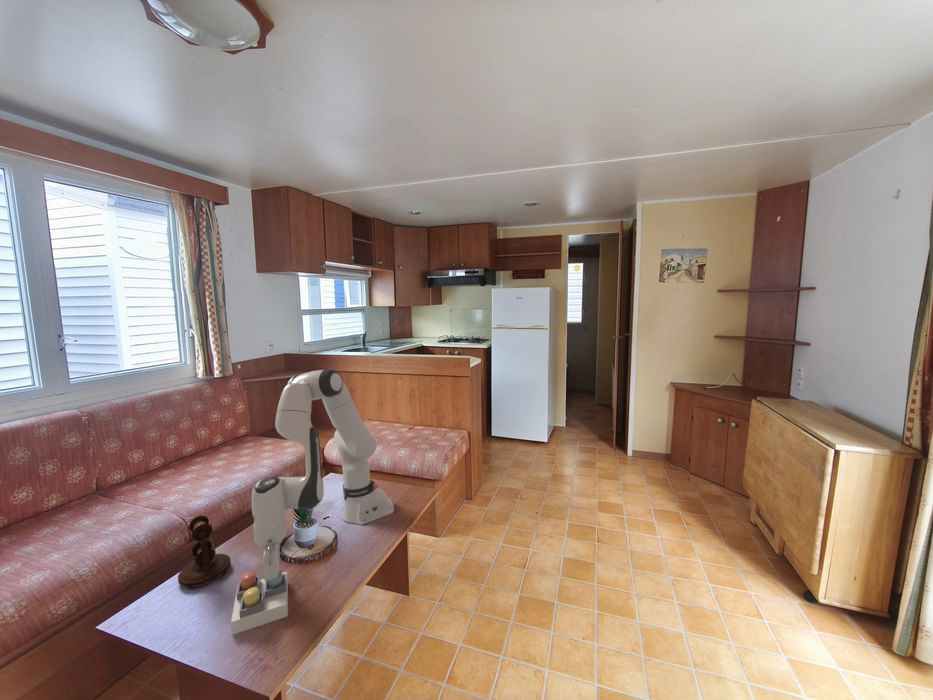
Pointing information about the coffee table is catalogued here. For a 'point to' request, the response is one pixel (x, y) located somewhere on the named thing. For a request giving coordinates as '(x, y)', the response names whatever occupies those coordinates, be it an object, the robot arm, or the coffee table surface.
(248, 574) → the brick button
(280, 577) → the slate button
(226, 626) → the coffee table surface
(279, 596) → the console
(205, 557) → the brown spool stand
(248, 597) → the ochre button
